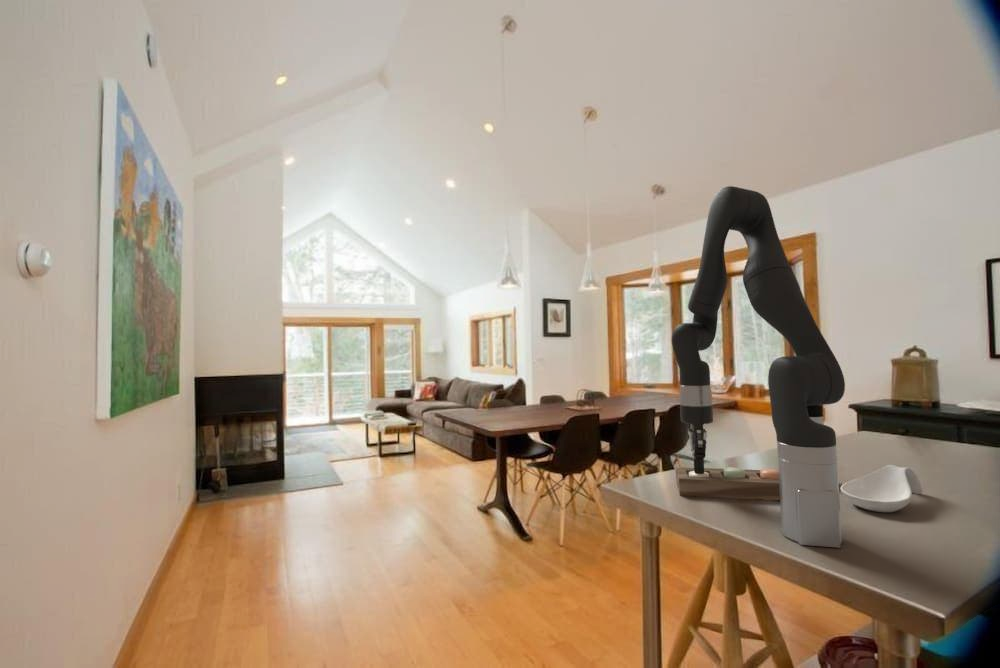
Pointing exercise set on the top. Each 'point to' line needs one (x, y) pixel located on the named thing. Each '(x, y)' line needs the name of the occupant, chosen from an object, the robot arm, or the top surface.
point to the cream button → (698, 474)
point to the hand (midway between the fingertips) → (699, 472)
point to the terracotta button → (769, 474)
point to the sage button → (734, 473)
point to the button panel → (726, 485)
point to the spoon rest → (883, 489)
